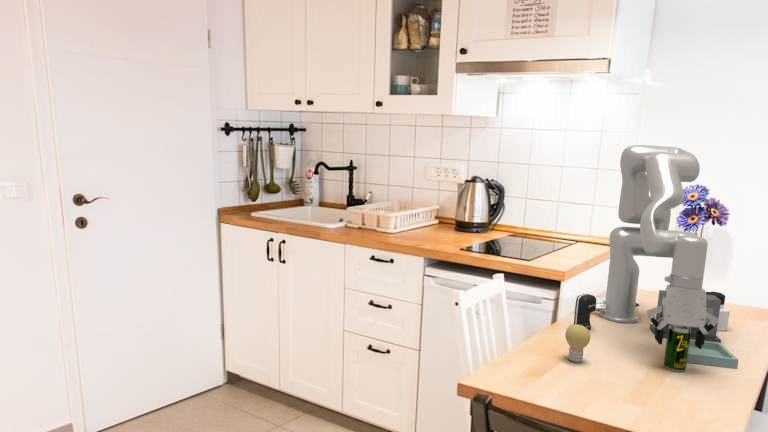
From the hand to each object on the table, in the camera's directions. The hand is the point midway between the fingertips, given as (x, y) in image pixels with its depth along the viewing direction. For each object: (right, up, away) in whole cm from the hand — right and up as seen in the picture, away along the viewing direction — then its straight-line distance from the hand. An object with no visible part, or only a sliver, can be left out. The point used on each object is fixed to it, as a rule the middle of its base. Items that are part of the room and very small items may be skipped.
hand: (678, 344), depth 148 cm
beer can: (0, -7, +1) cm, 7 cm away
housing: (+16, -4, +27) cm, 32 cm away
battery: (-15, -2, +29) cm, 32 cm away
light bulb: (-26, -5, +4) cm, 27 cm away
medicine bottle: (+31, -3, +38) cm, 49 cm away
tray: (+13, -6, +11) cm, 18 cm away
